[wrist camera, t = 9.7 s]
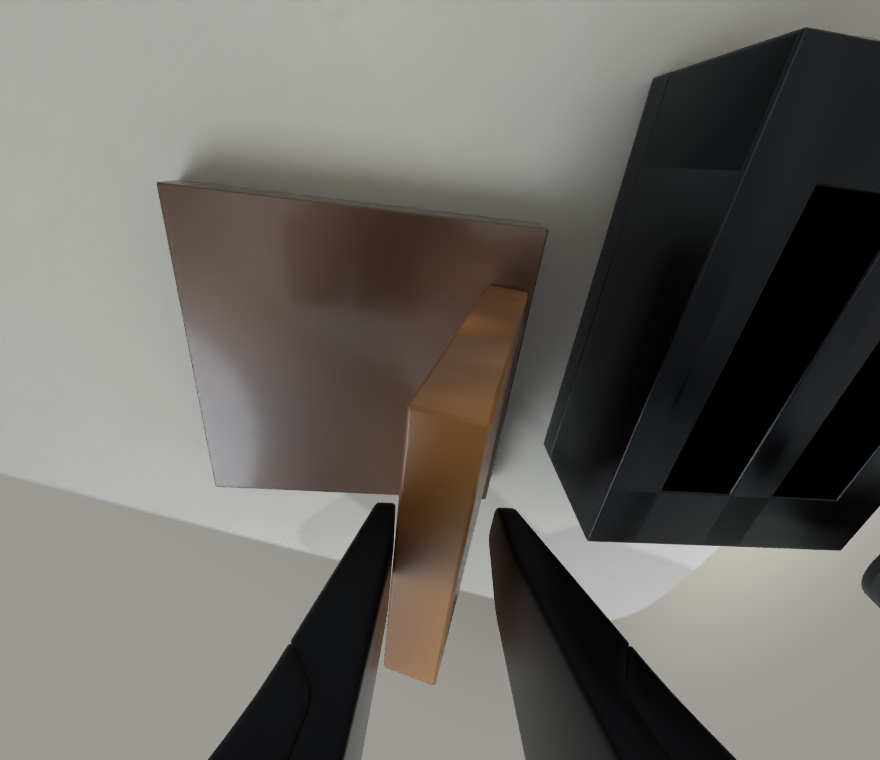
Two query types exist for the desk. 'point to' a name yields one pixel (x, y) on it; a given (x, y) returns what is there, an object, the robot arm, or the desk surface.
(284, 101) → the desk surface
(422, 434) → the toast
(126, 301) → the desk surface
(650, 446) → the toaster
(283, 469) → the board
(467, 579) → the desk surface
